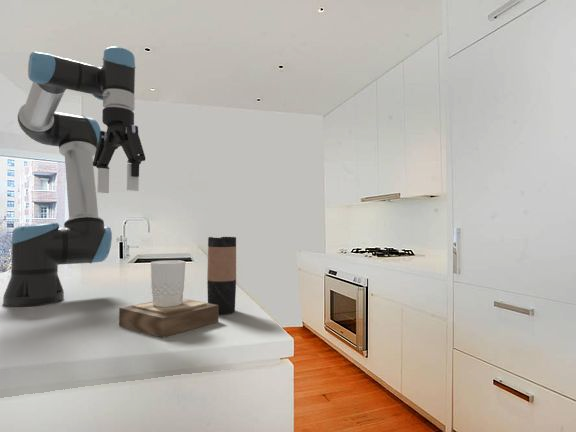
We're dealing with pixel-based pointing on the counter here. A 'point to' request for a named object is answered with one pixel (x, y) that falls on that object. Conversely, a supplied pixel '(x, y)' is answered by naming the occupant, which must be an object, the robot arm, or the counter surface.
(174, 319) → the walnut riser
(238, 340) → the counter surface
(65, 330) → the counter surface
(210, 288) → the travel mug
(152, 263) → the white cup
